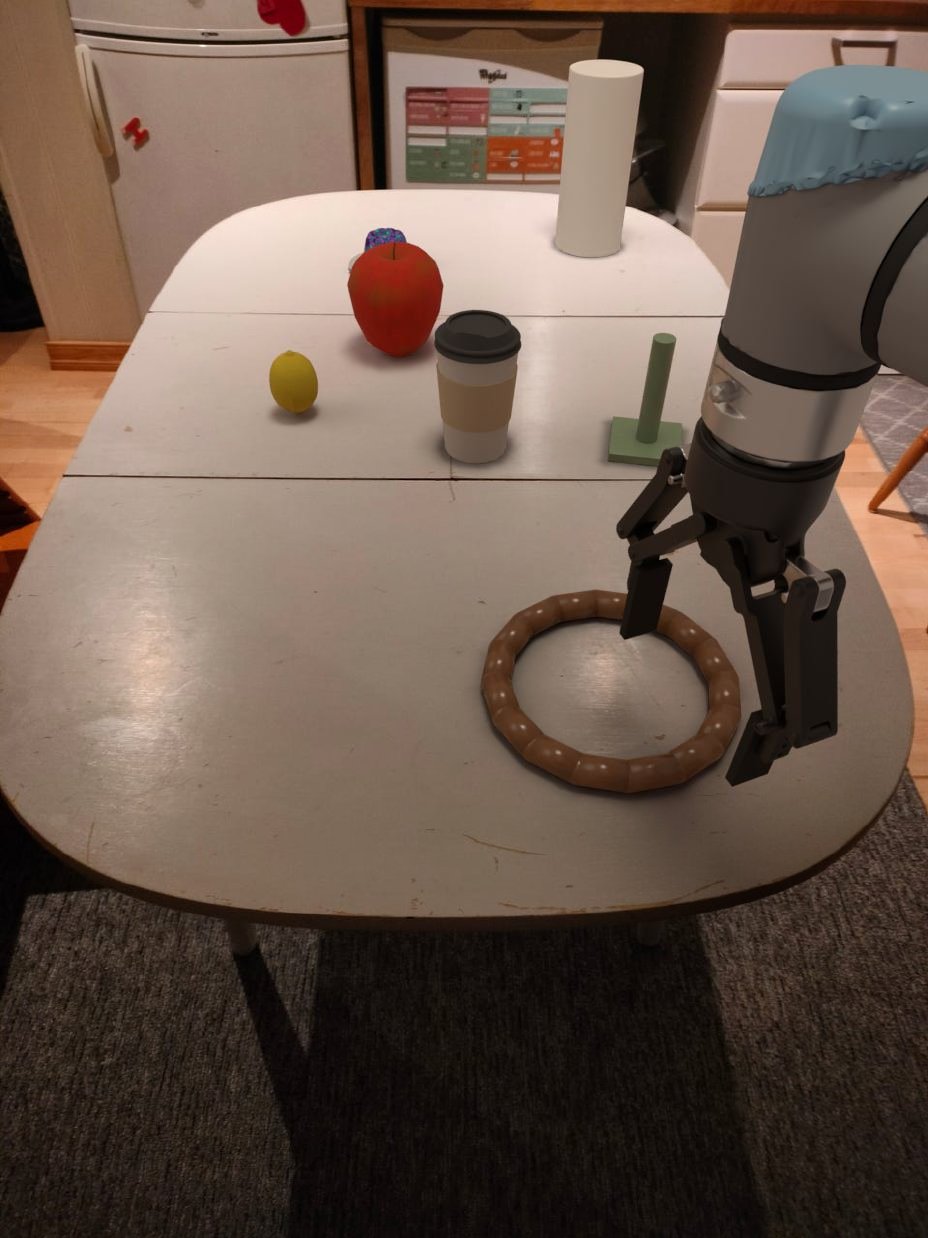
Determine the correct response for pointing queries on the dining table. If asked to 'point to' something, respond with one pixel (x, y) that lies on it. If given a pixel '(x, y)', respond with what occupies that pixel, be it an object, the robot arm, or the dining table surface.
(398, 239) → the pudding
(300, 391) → the lemon
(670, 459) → the robot arm
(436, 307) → the apple
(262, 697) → the dining table surface
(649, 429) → the post
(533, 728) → the ring
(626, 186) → the tall pillar cylinder
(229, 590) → the dining table surface
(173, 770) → the dining table surface
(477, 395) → the coffee cup
